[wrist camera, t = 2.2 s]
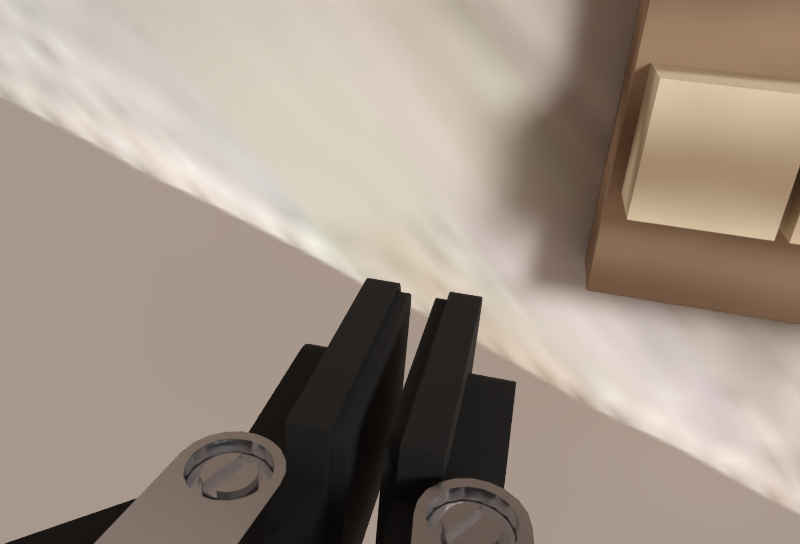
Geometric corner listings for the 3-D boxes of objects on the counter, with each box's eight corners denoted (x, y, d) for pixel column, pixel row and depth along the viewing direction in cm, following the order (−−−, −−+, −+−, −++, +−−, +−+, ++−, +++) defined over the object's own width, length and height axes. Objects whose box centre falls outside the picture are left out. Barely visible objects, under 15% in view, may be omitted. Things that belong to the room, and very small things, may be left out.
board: (657, -76, 27) (666, -77, 24) (1012, -47, 25) (1065, -43, 22) (585, 260, 33) (586, 290, 30) (864, 304, 31) (892, 339, 29)
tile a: (651, 62, 26) (660, 78, 23) (796, 78, 25) (823, 97, 23) (621, 191, 28) (627, 219, 26) (754, 210, 28) (774, 240, 25)
